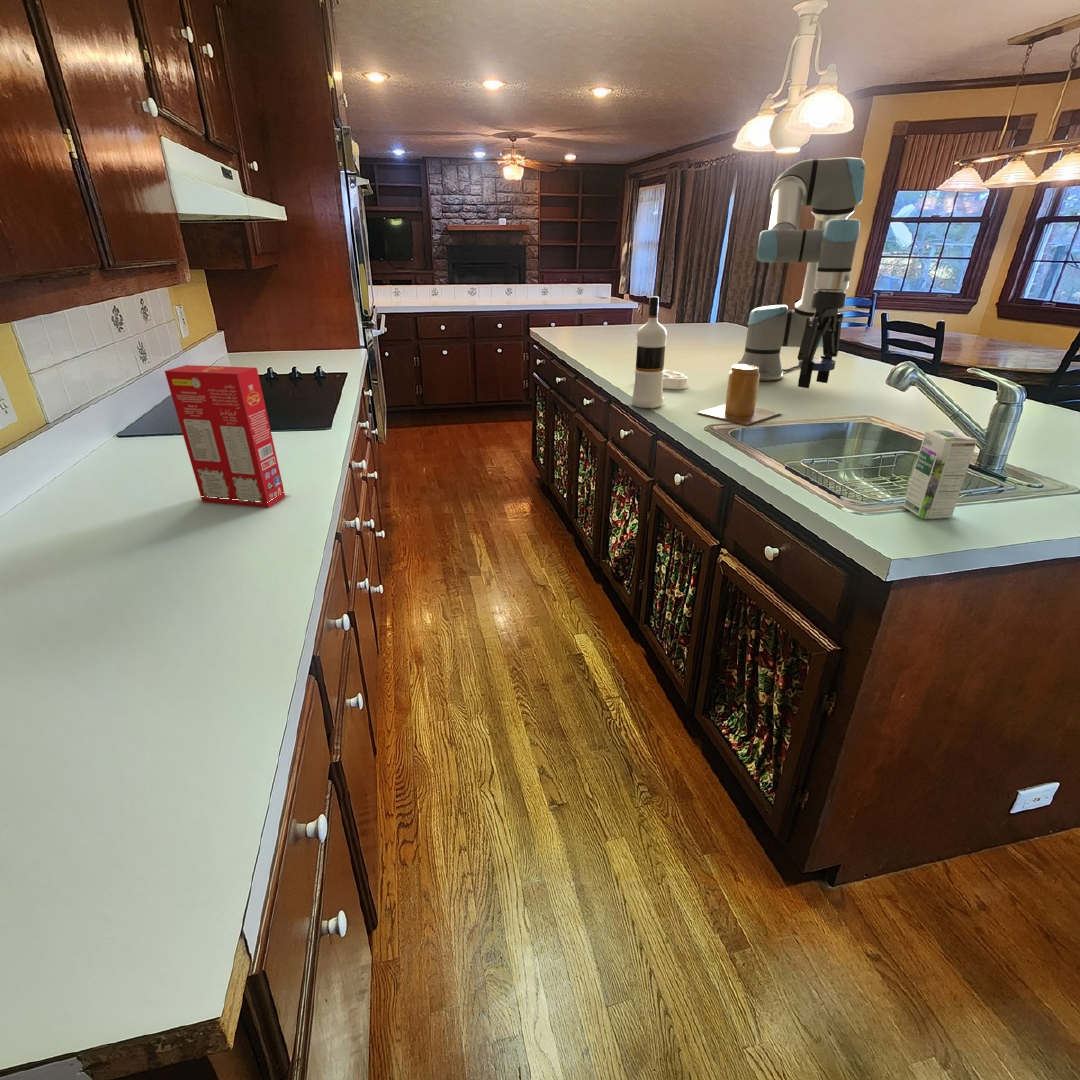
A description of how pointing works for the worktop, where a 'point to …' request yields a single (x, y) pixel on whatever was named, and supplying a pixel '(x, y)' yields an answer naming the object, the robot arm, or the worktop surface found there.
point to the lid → (821, 364)
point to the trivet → (744, 420)
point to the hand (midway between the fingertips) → (812, 384)
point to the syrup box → (939, 473)
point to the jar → (742, 390)
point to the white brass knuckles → (674, 380)
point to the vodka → (650, 361)
